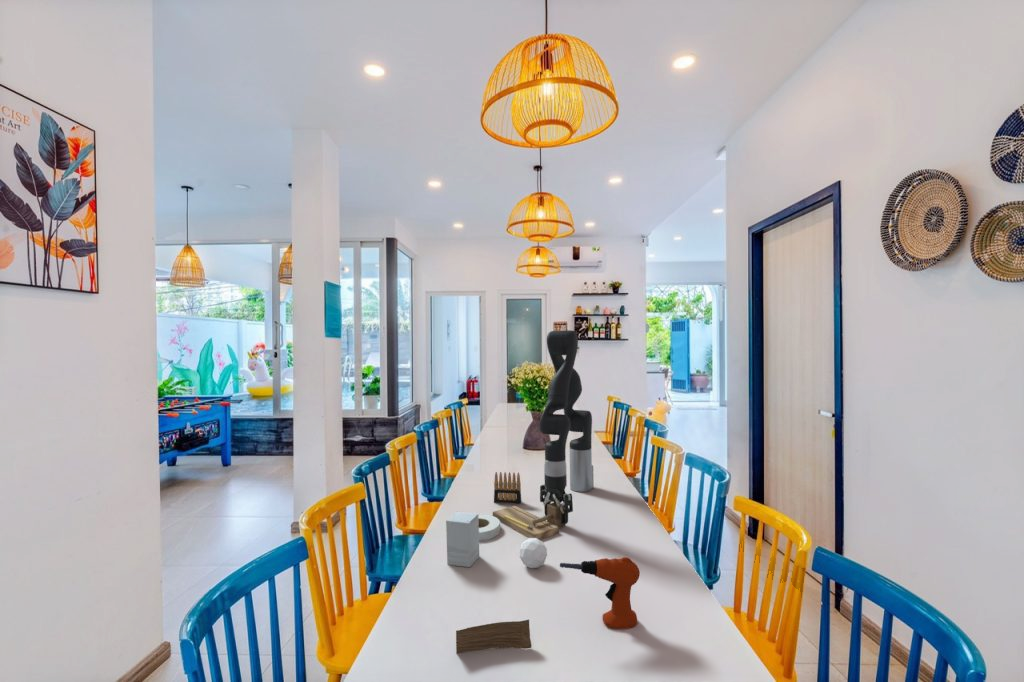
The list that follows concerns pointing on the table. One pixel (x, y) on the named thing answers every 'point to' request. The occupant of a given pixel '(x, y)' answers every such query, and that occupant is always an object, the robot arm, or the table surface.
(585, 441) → the robot arm
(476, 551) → the supplement box
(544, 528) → the board
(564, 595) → the table surface
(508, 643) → the wood plank
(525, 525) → the pencil
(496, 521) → the roll of tape
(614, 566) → the toy drill
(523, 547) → the ball
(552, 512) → the block on a post
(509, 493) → the ammunition clip
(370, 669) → the table surface
